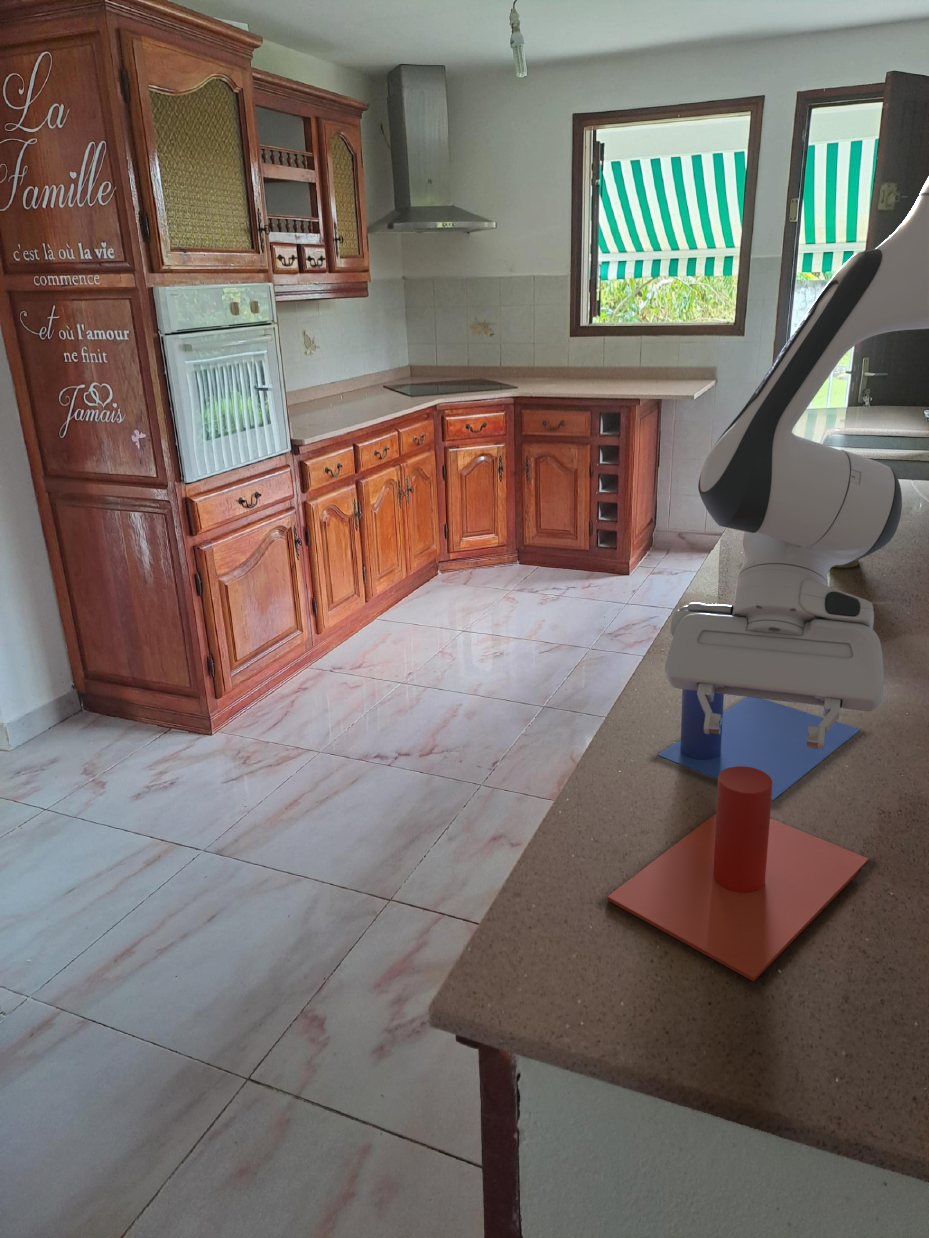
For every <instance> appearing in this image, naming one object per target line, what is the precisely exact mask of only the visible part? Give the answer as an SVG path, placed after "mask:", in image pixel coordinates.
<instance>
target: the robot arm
mask: <svg viewBox="0 0 929 1238" xmlns="http://www.w3.org/2000/svg"><path fill="white" fill-rule="evenodd" d="M928 329H929V176H928V177H927V179H926V181H925V183H924V184H923V186H922V189H921V191H920V193H919V196H918V197H917V199H916V201H915V203H914V205H913V206H912V208H911V210H910V211H909V212H908V214H907V216H906V217H905V218H904V220H903V221H902V223H900V224H899V226H898V227H897V228H896V229H895V231H894V232H892V234H890V235H889V236H888V237H887V238H886V239H885V240H884V241H883V242H881V243H880V244H879V245H878V246H877V247H875V248H873V249H868V250H864V251H859V252H856V253H855V254H853V255H852V256H851V257H850V258H848V259H847V261H846V262H844V263H843V265H842V266H841V267H840V268H839V269H838V270H837V271H836V272H835V273H834V275H832V277H831V279H830V280H829V281H828V282H827V283H826V285H825V286H824V288H822V290H821V292H820V293H819V295H818V296H817V298H816V299H815V300H814V302H813V303H812V304H811V306H810V308H809V309H808V310H807V312H806V313H805V314H804V316H803V318H802V319H801V321H800V322H799V324H798V325H797V326H796V328H795V330H794V331H793V332H792V334H791V336H790V338H788V341H787V342H786V343H785V345H784V347H783V348H782V350H781V351H780V352H779V354H778V356H777V357H776V358H775V360H774V362H773V363H772V364H771V366H770V368H769V369H768V370H767V372H766V374H765V375H764V377H763V378H762V380H761V381H760V383H759V384H758V386H757V387H756V389H755V390H754V392H753V393H752V395H751V396H750V398H749V399H748V401H747V402H746V404H745V405H744V407H743V408H742V409H741V411H740V412H739V413H738V414H737V416H736V417H735V418H734V419H733V420H732V421H731V423H730V424H729V425H728V427H727V428H726V429H725V431H724V432H723V433H722V434H721V435H720V436H719V438H718V439H717V441H716V443H715V444H714V445H713V447H712V449H711V450H710V451H709V453H708V455H707V456H706V458H705V461H704V463H703V465H702V469H701V472H700V475H699V478H698V486H697V487H698V489H697V490H698V493H699V496H700V499H701V501H702V503H703V505H704V507H705V509H706V511H707V512H708V514H709V516H710V517H711V518H712V520H713V521H714V522H715V523H716V524H717V525H718V526H719V527H723V528H727V529H731V530H736V531H741V532H743V537H742V549H743V553H744V557H743V558H744V559H743V563H742V565H741V567H740V569H739V571H738V574H737V578H736V579H737V580H736V584H735V592H734V600H733V604H732V605H731V604H730V605H729V604H719V603H718V604H717V603H715V604H713V603H712V604H709V603H708V604H706V603H702V602H689V603H688V605H684V606H681V607H679V608H678V609H676V610H675V611H674V613H673V615H672V617H671V621H670V623H671V624H670V628H669V631H670V636H671V637H672V639H671V641H670V645H669V648H668V650H667V654H666V658H665V663H664V674H665V678H666V679H667V681H668V683H669V684H670V685H671V686H672V688H674V689H678V690H682V689H686V690H694V691H697V696H698V699H699V702H700V704H701V707H702V709H703V711H704V713H705V721H704V733H705V734H712V735H719V736H720V733H721V729H720V727H721V726H722V718H721V714H717V713H713V712H712V710H711V708H710V705H709V703H708V702H713V699H714V693H719V694H724V695H728V696H737V697H745V698H747V697H753V698H761V699H765V700H769V701H777V702H778V701H779V702H788V703H796V704H805V705H813V706H821V707H823V716H824V717H823V718H824V719H823V720H822V722H821V723H820V724H819V725H818V726H810V725H809V727H808V737H807V747H808V748H814V749H820V750H823V746H824V736H825V733H827V732H828V730H829V729H830V728H831V727H832V726H833V724H834V723H835V722H838V720H839V719H840V712H841V709H845V710H855V711H862V712H872V711H874V710H875V709H876V708H877V707H878V706H880V705H881V704H882V702H883V701H882V700H883V696H884V683H885V681H884V675H885V674H884V673H885V672H884V659H883V658H884V657H883V649H882V644H881V640H880V638H879V636H878V634H877V633H876V631H875V630H874V625H875V623H874V622H875V610H874V606H873V603H872V602H870V601H869V600H867V599H865V598H862V597H859V596H856V595H853V594H850V593H847V592H844V591H842V590H839V589H836V588H834V587H831V586H830V585H829V580H828V573H829V572H830V570H831V569H832V568H834V567H833V566H835V565H838V566H843V565H846V564H849V563H851V562H854V561H856V560H858V561H859V560H861V559H864V558H866V557H867V556H869V555H871V554H873V553H876V552H877V551H879V550H881V549H882V548H883V547H884V546H886V545H887V544H889V543H890V542H891V541H892V539H893V538H894V536H895V534H896V532H897V529H898V527H899V523H900V520H901V516H902V511H903V510H902V509H903V495H902V494H903V493H902V487H901V484H900V481H899V479H898V476H897V474H896V472H895V471H894V469H893V468H892V467H891V466H888V465H886V464H883V463H881V462H879V461H877V460H874V459H871V458H868V457H865V456H864V455H863V456H862V455H859V454H857V453H854V452H852V451H851V452H850V451H847V450H844V449H838V448H835V447H833V446H830V445H826V444H823V443H820V442H817V441H813V440H811V439H808V438H805V437H802V436H799V435H796V434H794V433H793V429H794V427H796V425H797V423H798V421H799V420H800V419H801V417H802V416H803V414H804V413H805V412H806V410H807V408H809V406H810V404H811V403H812V401H813V400H814V398H815V397H816V395H817V394H818V393H819V391H820V390H821V388H822V387H823V385H824V384H825V382H826V381H827V380H828V379H829V377H830V375H831V374H832V372H833V371H834V370H835V368H836V366H837V365H838V364H839V362H840V361H841V359H842V358H843V357H844V356H845V355H846V354H847V353H848V352H849V351H851V349H852V348H854V347H855V346H857V344H859V343H861V342H863V341H865V340H867V339H869V338H872V337H875V336H878V335H882V334H886V333H891V332H898V331H909V330H910V331H911V330H928Z"/></svg>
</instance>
